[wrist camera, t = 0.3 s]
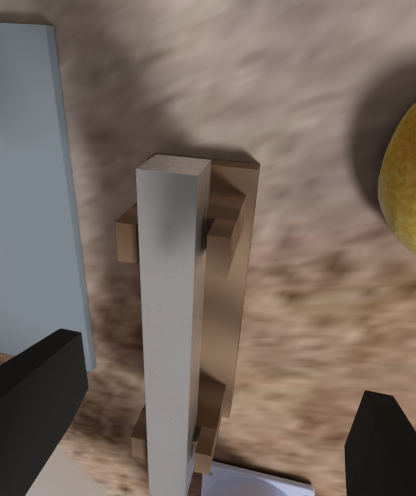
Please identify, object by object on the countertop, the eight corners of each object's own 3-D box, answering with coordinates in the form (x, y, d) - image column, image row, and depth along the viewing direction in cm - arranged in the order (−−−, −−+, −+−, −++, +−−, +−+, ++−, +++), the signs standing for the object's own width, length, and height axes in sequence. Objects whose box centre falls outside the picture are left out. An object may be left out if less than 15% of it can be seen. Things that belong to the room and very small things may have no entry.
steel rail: (194, 467, 21) (184, 504, 20) (161, 459, 22) (149, 494, 20) (211, 159, 13) (197, 175, 11) (157, 154, 13) (135, 168, 11)
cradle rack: (231, 405, 24) (215, 490, 19) (158, 389, 25) (126, 468, 20) (260, 164, 17) (245, 206, 12) (154, 153, 17) (101, 188, 13)
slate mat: (96, 365, 25) (91, 372, 25) (-7, 343, 26) (-13, 349, 26) (53, 26, 16) (45, 24, 15) (-102, 18, 17) (-115, 17, 17)
